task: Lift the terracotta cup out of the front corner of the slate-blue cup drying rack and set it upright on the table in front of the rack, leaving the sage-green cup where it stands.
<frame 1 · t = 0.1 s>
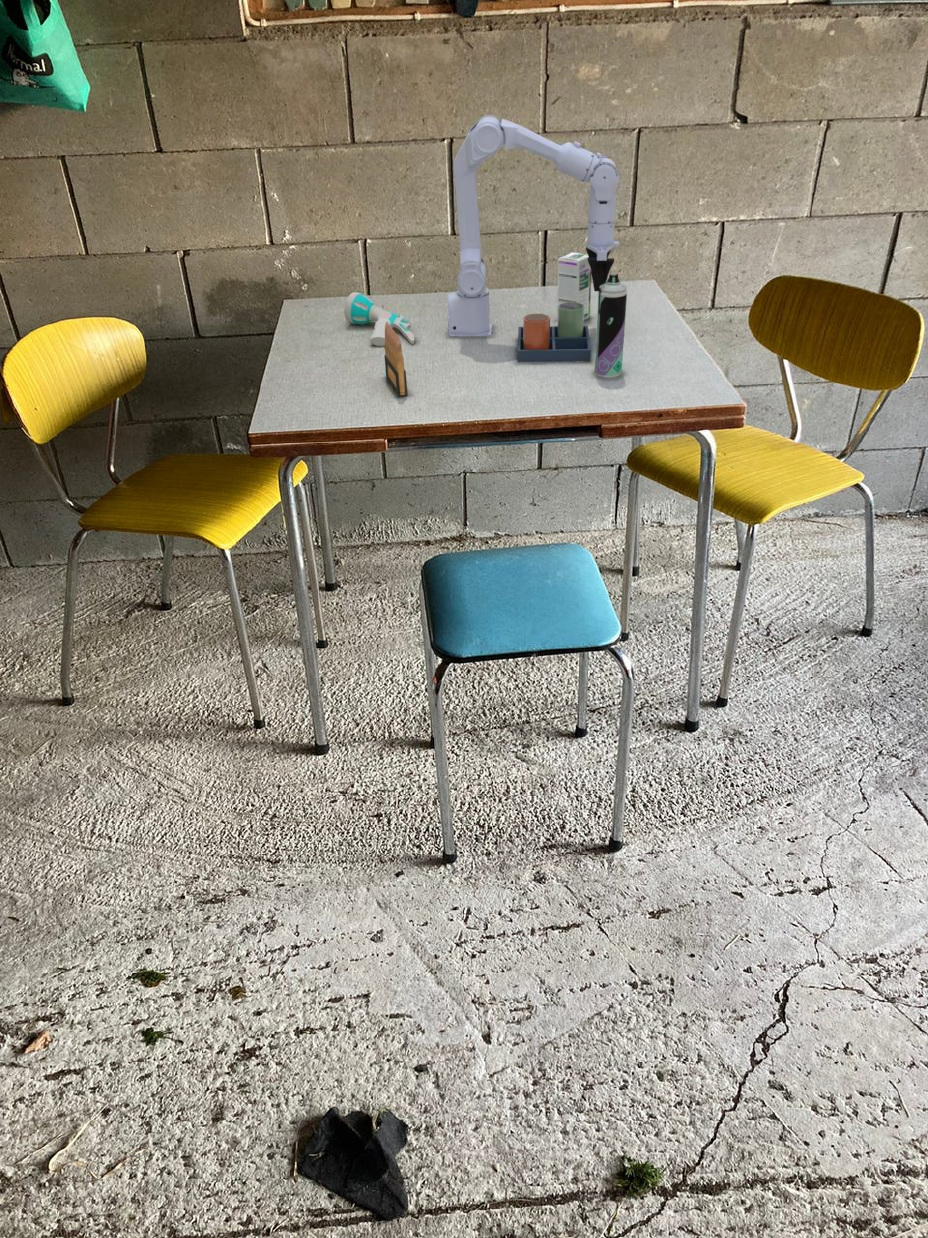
hand: (598, 285, 209), 10 cm above the table, tool pointing down, fingers open, 7 cm apart
ammunition clip: (396, 387, 191), on the table
terracotta cup: (536, 354, 202), resting on cup rack
sage cup: (569, 342, 207), resting on cup rack
cup rack: (553, 350, 205), on the table
spray can: (608, 375, 193), on the table
garden hose nozzle: (380, 332, 219), on the table
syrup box: (573, 320, 222), on the table
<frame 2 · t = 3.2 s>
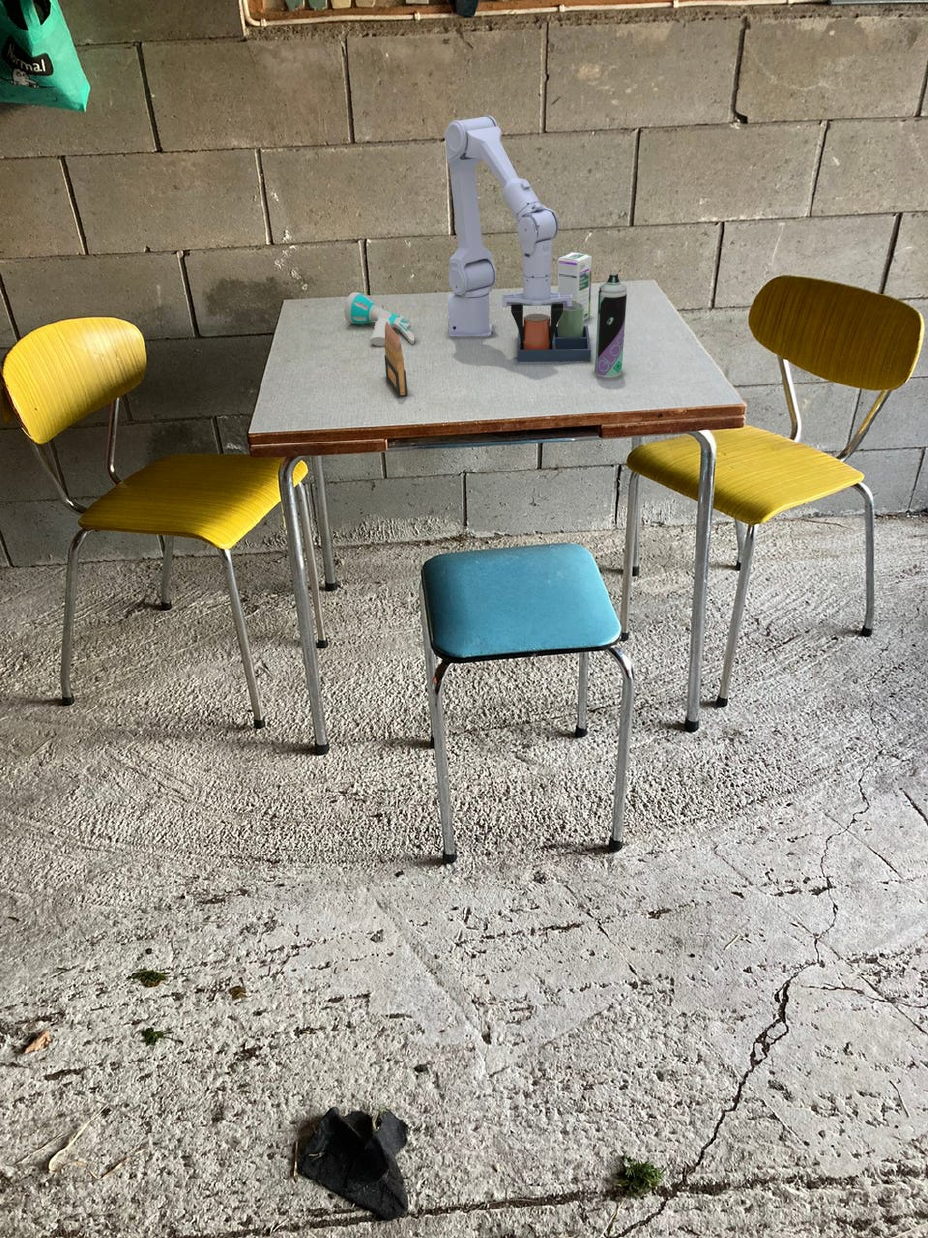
hand: (536, 339, 200), 4 cm above the table, tool pointing down, fingers closed on terracotta cup, 5 cm apart
terracotta cup: (536, 354, 202), point 1 cm above the table, touching cup rack, gripper
everything else where it was.
when the fingers open (3 cm above the table, at t = 7.7 s): terracotta cup stays where it is, on the table.
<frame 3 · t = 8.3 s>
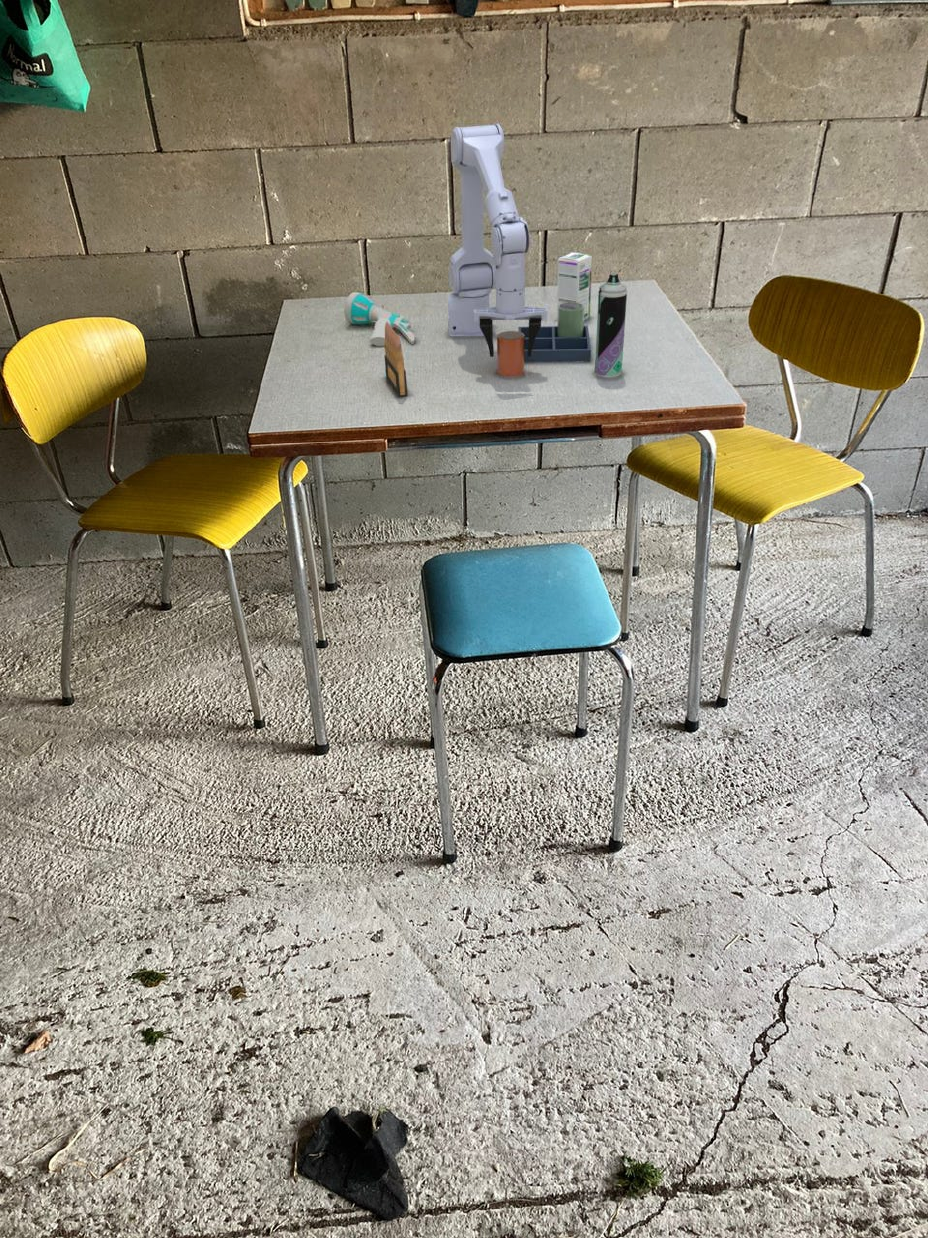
hand: (510, 354, 193), 4 cm above the table, tool pointing down, fingers open, 7 cm apart
terracotta cup: (510, 373, 195), on the table
everything else where it was.
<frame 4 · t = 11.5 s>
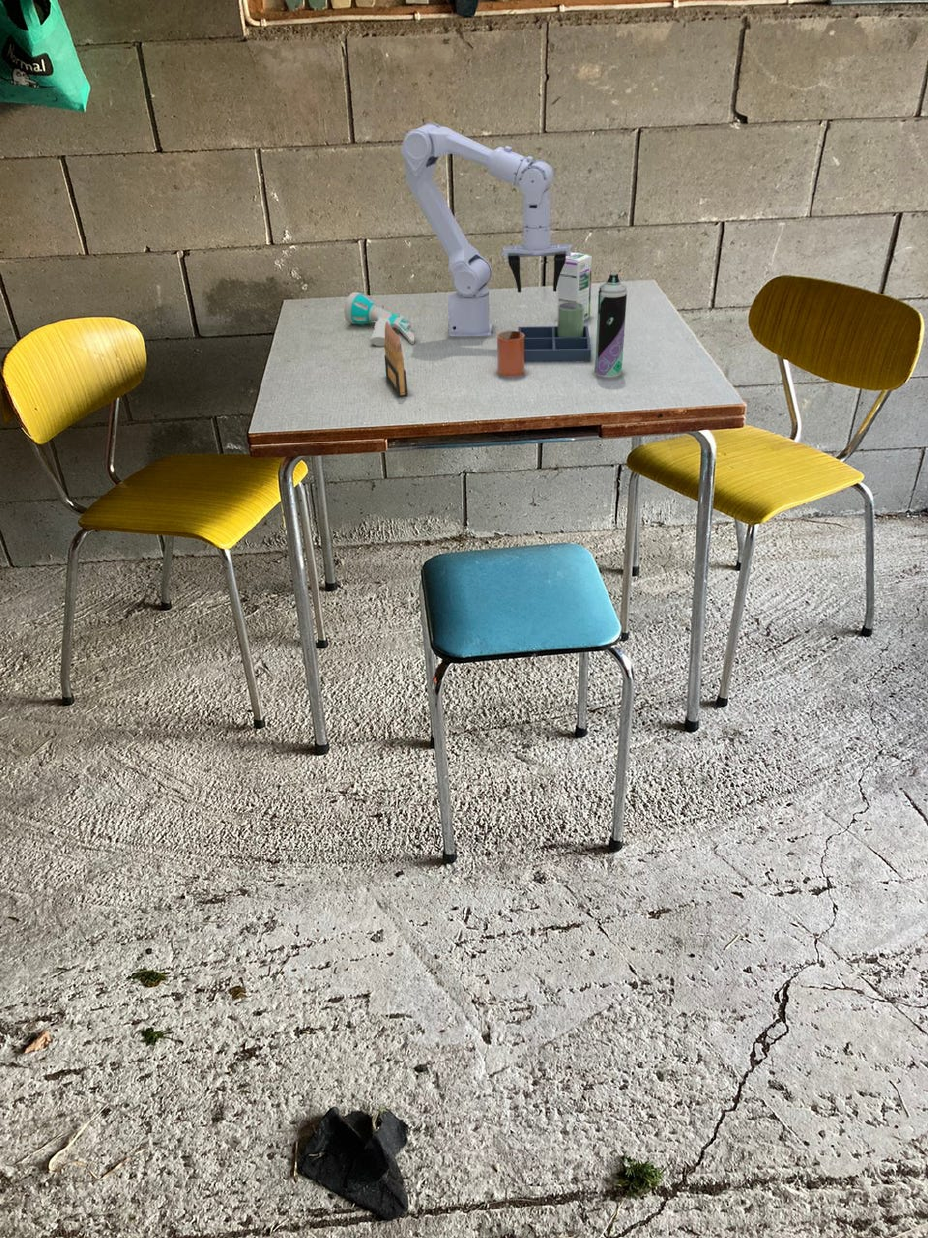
hand: (537, 290, 206), 10 cm above the table, tool pointing down, fingers open, 7 cm apart
nothing on the table moved.
at the end: terracotta cup inside the target area (0.1 cm from its centre), on the table; terracotta cup tilted 0°; sage cup moved 0.0 cm from its start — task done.
